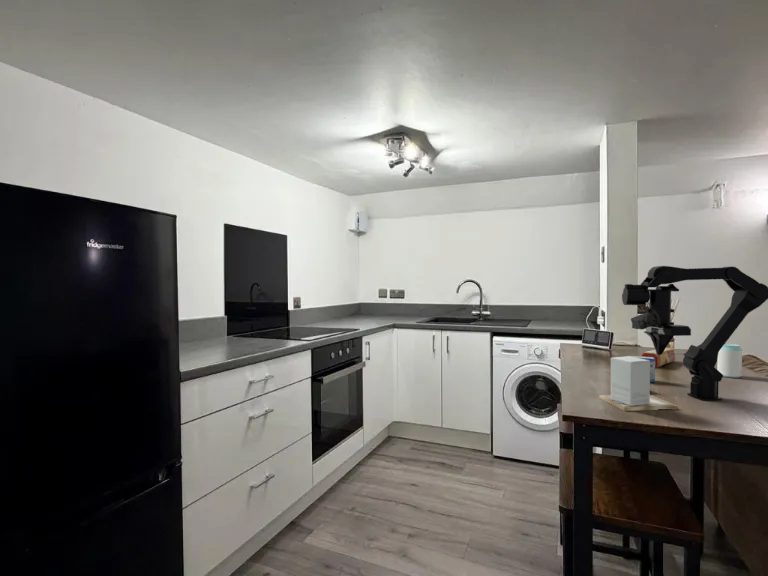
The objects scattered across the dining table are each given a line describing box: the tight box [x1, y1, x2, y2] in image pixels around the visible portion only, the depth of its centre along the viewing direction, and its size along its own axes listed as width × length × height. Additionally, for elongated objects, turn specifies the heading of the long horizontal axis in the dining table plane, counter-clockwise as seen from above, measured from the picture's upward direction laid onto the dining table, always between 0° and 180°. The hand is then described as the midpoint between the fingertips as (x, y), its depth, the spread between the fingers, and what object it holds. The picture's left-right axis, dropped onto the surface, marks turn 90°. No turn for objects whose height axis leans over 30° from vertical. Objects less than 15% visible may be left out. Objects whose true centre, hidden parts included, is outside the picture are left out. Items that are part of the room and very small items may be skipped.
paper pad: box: [598, 394, 679, 412], centre depth 125 cm, size 16×12×1 cm
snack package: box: [640, 347, 676, 369], centre depth 180 cm, size 21×7×7 cm, turn 129°
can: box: [716, 343, 743, 379], centre depth 158 cm, size 7×7×12 cm
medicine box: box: [629, 355, 656, 383], centre depth 152 cm, size 8×4×9 cm, turn 68°
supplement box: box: [610, 355, 651, 406], centre depth 123 cm, size 7×7×13 cm
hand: (659, 354), depth 134 cm, fingers closed
